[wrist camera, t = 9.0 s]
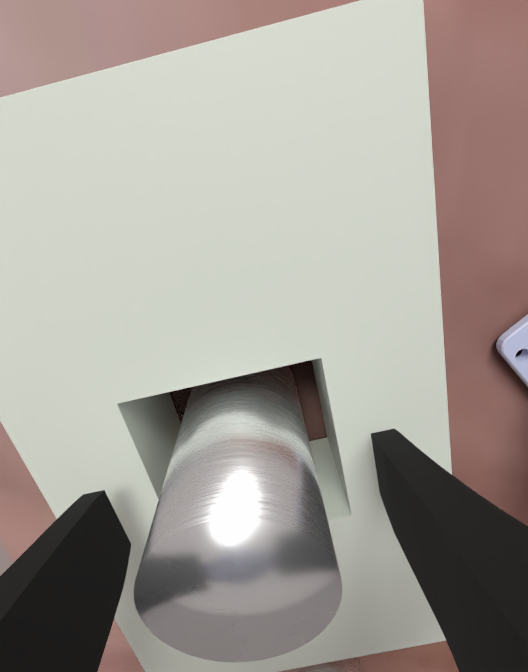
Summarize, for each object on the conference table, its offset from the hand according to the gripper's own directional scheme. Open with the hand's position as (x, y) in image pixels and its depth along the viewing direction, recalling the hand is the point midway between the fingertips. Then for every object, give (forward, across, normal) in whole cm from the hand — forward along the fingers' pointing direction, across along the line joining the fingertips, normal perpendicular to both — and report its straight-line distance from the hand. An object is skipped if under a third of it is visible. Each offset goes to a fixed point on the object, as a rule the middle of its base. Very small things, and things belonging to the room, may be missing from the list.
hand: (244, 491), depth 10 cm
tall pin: (+5, 0, 0) cm, 5 cm away
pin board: (+5, 0, 0) cm, 5 cm away
